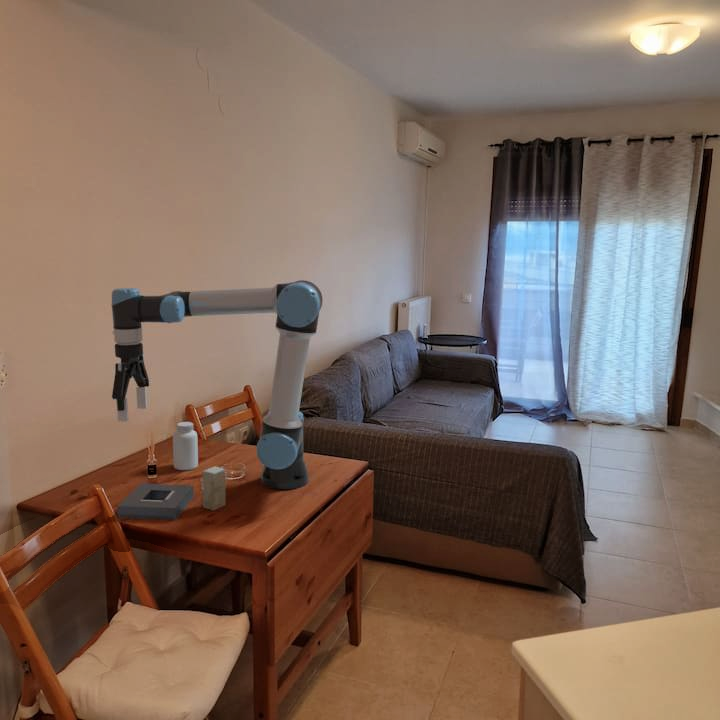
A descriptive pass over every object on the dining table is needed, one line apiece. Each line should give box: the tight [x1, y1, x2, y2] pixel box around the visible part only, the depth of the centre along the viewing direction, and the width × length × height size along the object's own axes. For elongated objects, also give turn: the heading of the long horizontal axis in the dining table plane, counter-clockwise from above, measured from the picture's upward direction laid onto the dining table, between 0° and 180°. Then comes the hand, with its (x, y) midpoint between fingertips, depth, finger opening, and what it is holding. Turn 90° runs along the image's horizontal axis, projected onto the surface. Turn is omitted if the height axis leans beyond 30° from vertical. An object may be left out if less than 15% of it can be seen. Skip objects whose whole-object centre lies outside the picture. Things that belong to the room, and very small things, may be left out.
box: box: [202, 466, 227, 511], centre depth 178 cm, size 5×4×11 cm
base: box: [117, 483, 195, 521], centre depth 178 cm, size 16×16×4 cm
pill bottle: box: [172, 421, 199, 471], centre depth 208 cm, size 8×8×15 cm
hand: (133, 414), depth 182 cm, fingers open, 13 cm apart
